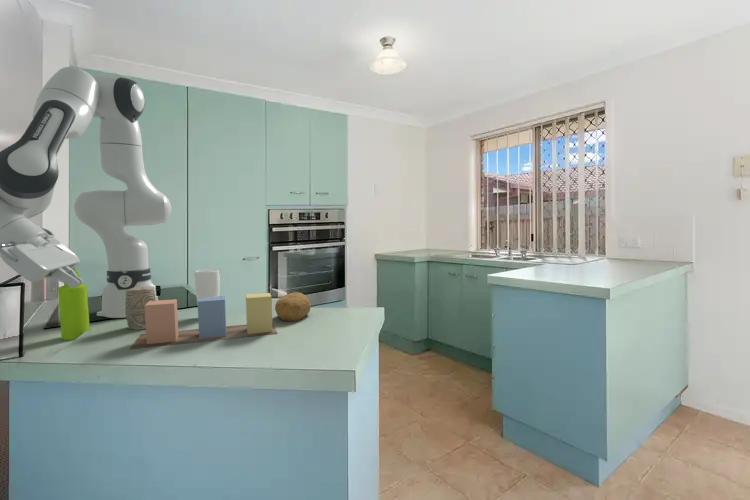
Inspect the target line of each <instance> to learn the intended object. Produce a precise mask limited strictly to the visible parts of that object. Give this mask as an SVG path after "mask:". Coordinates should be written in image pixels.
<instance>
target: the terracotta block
mask: <svg viewBox="0 0 750 500" xmlns="http://www.w3.org/2000/svg"><path fill="white" fill-rule="evenodd" d="M145 321H146V329H145V334H146V339H147V344H154V343H164V342H174V341H176V340H177V338H178V336H179V335H178V331H179V317H178V300H177V299H175V298H174V299H161V300H160V301H149V302H148V303H147V304H146V305H145Z"/></svg>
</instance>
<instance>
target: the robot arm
mask: <svg viewBox="0 0 750 500" xmlns="http://www.w3.org/2000/svg"><path fill="white" fill-rule="evenodd" d="M41 89H42V90H41V91H40V93H39V94H38V97H37V98H36V101H35V104H34V107H33V111H32V120H31V122H30V124H29V125H28V126H27V128H26V130H25V132H24V133H22V136H21V137H20V138H19V139H18V140H16V142H14V143H13V144H11V145H9V146H7V147H6V148H4V149H2V150H1V151H0V259H1V260H2V261H3V262H4V263H5V265H7V266H8V267H10V268H11V269H12V270H13V271H14V272H16V273H17V275H18V274H19V276H21V277H23V278H24V279H25V280H26V281H29V282H30V283H37V282H40V281H43V280H46V279H49V278H53V279H55V280H56V281H58V282H61V283H62V284H64V283H65V284H67V285H68V286H70V287H71V288H75V287H78V286H80V285H81V284H84V280H83V278H81V276H80V277H78V276H77V274H76V273H75V272H74V271H73V268H74V267H75V268H76V266H78V265H79V264H80V262H81V260H80V258H79V256H78V255H77V254H75V253H74V251H72V250H71V249H69V248H68V247H67V246H66V245H65V244H64V243H63V242H61V241H60V240H58V238H57V239H56V238H55V237H56V234H55V233H53V231H51V230H49V229H46V228H43V227H41V226H39V225H38V224H36V223H34V222H33V221H32V220H31V219H30V218H32V217H36V216H37V215H39V214H41V213H44V212H45V211H46V210H47V209H48V208H49V206H50V205H51V202H52V199H53V194H54V190H55V187H56V184H57V181H58V179H59V172H60V171H59V164H58V159H57V155H58V153H59V151H60V149H61V147H62V145H63V143H64V142H65V140H66V139H67V140H72V139H78V138H81V136H82V135H83V134H84V132H86V130H87V129H88V127H89V126H90V124H91V123H92V121H93V118H96V119H97V118H99V119H100V123H99V148H100V149H99V150H100V163H101V168H102V171H103V172H104V173H105V174H106V175H107V176H110V177H112V178H113V179H115V180H118V181H121V182H123V183H124V184H125V185H126V188H127V189H126V190H103V189H102V190H92V191H85V192H84V191H83V192H81V193H80V194H79V195H78V196H77V198H75V201H74V205H73V208H74V209H73V210H74V213H75V216H76V217H77V219H78V220H79V221H80V222H81V223H82V224H84V225H86V226H88V227H90V228H91V229H92V230H93V231H94V232H95V233H96V234H97V235H98V236H99V237H100V239H101V241H102V243H103V244H104V247H105V248H104V249H105V252H106V254H105V255H106V259H107V260H106V261H107V271H106V275H105V276H106V282H107V284H106V286H104V288H102V290H101V310H99V311H97V312H96V316H97V317H105V318H110V319H123V318H125V319H126V314H125V300H126V293H127V292H126V291H127V290H128V289H131V288H134V287H150V288H153V290H154V293H155V297H156V301H160V300H159V299H160V296H158V295H157V290H156V288H157V287H156V285H155V284H154V283H153V282H152V280H151V279H152V272H151V268H150V266H149V265H150V264H149V251H148V250H149V248H148V247H149V246H148V245H147V243H146V242H145V241H143V240H142V239H140V238H139V237H138V238H137V237H135V236H133V235H130V234H128V233H126V231H125V230H124V227H126V226H127V227H129V226H131V227H133V226H136V227H137V226H155V225H158V224H164V223H166V222H167V221H168V220H169V219H170V217H171V214H172V211H173V210H172V209H173V208H172V204H171V201H170V200H169V198H168V197H167V196H166V195H165V194H164V193H162V192H161V191H159V189H157V188H156V186H154V185H153V184H152V182H151V180H150V179H149V177H148V175H147V172H146V169H145V163H144V155H143V153H144V151H143V139H142V133H141V127H140V124H139V117H140V116H142V114H143V113H144V110H145V107H146V97H145V92H144V91H143V88H141V86H140V85H139V84H138V83H137V81H135V80H133V79H130V78H127V77H114V76H106V75H94V76H93V75H91V74H90V73H89V72H87V71H86V70H84V69H81V68H78V67H76V66H65V67H64V66H63V67H62V68H60V69H59V70H57V72H55V73H54V74H53V75H52V76H51V77H50V78H49V79H48V81H46V83H45V84H44V86H43V88H41Z"/></svg>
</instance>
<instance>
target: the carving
mask: <svg viewBox="0 0 750 500" xmlns="http://www.w3.org/2000/svg"><path fill="white" fill-rule="evenodd" d="M126 292H127V293H126V300H125V314H126V317H125V319H126V322H127V326H128V328H129V330H132V331H133V330H134V331H135V330H136V331H138V330H139V331H140V330H146V321H145V305H146V304H147V303H148V302H149V301H156V297H155V293H154V290H153V288H150V287H134V288H131V289H128V290H127V291H126Z"/></svg>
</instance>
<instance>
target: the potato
mask: <svg viewBox="0 0 750 500" xmlns="http://www.w3.org/2000/svg"><path fill="white" fill-rule="evenodd" d="M310 302H311V301H310V300H309V298H308V297H307V296H306V295H305V294H303V293H302V292H298V291H297V292H296V291H294V292H291V293H288V294H284V295H283V296H281V297H280V298H279V299H278V300H277V301H276V303H275V306H274V307H275V308H274V310H275V313H276V316H277V317H278V318H280V319H281V320H282V321H284V322H295V321H300V320H303V319H304V318H306V316H307V315H308V314H310V311H311V306H312V305H311V303H310Z"/></svg>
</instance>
